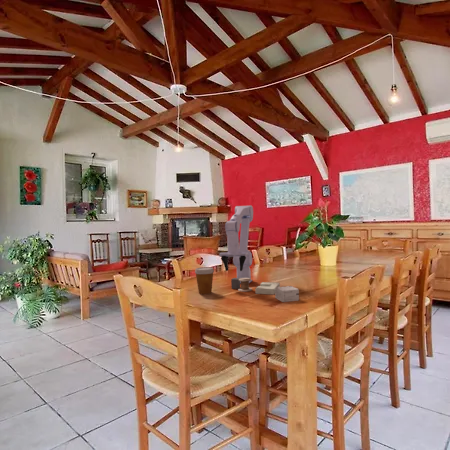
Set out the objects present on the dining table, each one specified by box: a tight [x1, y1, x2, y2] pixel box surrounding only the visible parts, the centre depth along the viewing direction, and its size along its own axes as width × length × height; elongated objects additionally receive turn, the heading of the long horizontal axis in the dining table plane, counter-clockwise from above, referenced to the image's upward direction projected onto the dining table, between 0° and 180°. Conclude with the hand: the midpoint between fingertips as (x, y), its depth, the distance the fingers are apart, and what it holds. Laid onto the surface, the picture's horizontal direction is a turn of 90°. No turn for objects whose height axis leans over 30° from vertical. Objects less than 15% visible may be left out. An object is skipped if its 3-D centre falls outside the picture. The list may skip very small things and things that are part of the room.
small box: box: [274, 285, 300, 303], centre depth 145 cm, size 8×8×5 cm
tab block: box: [230, 277, 241, 290], centre depth 172 cm, size 4×4×5 cm
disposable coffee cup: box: [194, 266, 215, 295], centre depth 163 cm, size 10×10×12 cm
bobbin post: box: [237, 278, 253, 292], centre depth 166 cm, size 7×7×6 cm
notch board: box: [254, 281, 281, 295], centre depth 163 cm, size 16×9×2 cm, turn 162°
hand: (234, 270), depth 170 cm, fingers open, 7 cm apart
